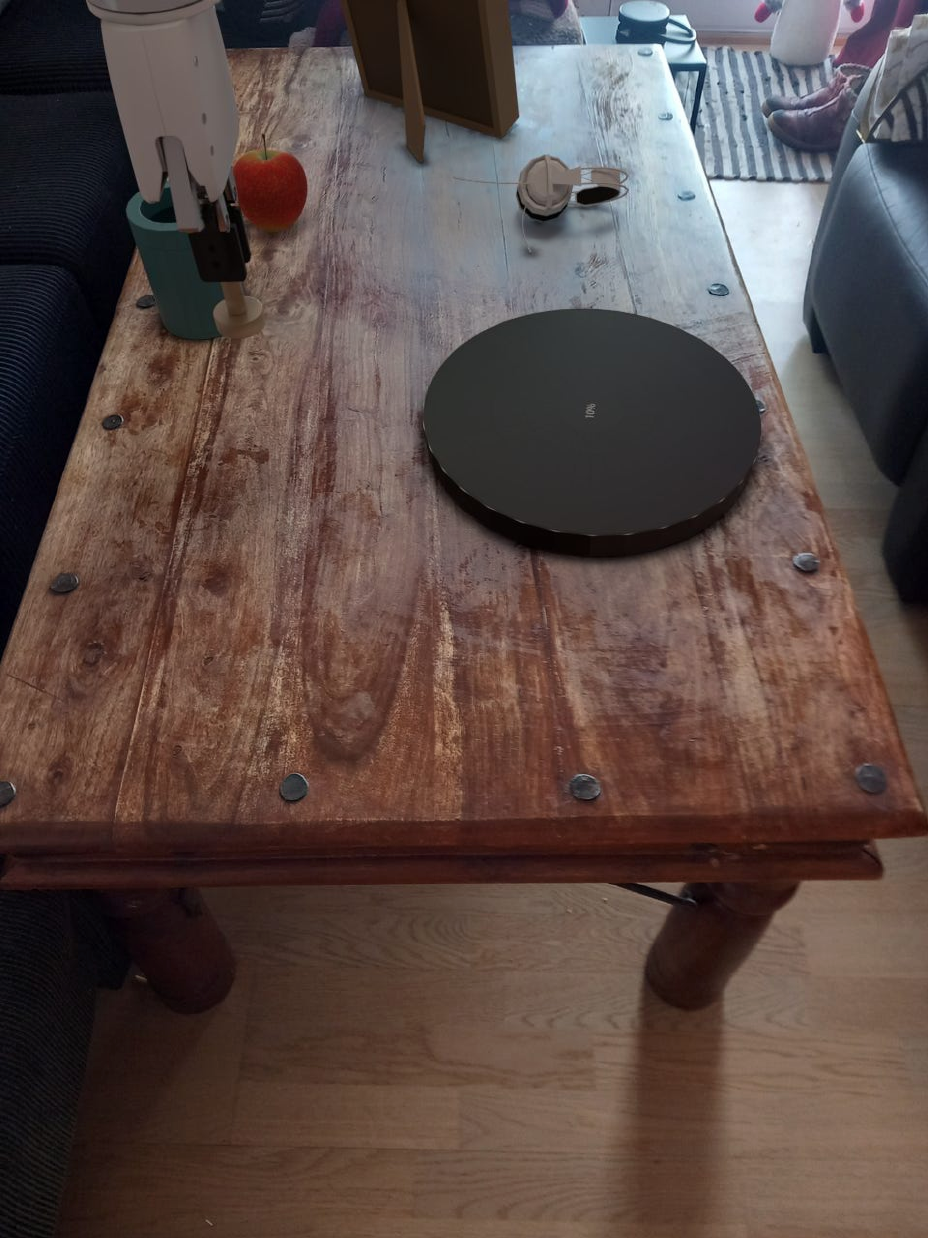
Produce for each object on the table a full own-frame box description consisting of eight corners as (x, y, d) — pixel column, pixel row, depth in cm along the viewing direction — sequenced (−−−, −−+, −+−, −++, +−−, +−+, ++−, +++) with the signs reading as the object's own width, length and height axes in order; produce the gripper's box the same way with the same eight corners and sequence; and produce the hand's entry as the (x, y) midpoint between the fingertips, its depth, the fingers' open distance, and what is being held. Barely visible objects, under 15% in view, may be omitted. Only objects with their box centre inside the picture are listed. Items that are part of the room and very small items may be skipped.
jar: (155, 341, 94) (117, 232, 84) (169, 288, 99) (135, 179, 89) (243, 338, 94) (215, 229, 84) (253, 285, 99) (228, 177, 89)
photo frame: (383, 83, 126) (364, -147, 106) (519, 124, 118) (526, -115, 98) (315, 129, 119) (281, -109, 98) (455, 176, 111) (448, -70, 91)
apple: (231, 241, 104) (210, 153, 96) (257, 203, 109) (239, 115, 100) (298, 249, 103) (282, 161, 95) (321, 210, 107) (308, 123, 99)
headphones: (445, 206, 107) (614, 199, 108) (454, 257, 101) (632, 249, 102) (445, 135, 100) (626, 128, 101) (454, 186, 94) (645, 178, 96)
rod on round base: (213, 339, 67) (176, 209, 59) (220, 309, 69) (185, 180, 61) (262, 338, 67) (231, 208, 59) (268, 308, 69) (239, 179, 61)
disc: (429, 333, 94) (427, 307, 91) (724, 329, 93) (731, 304, 91) (419, 560, 76) (417, 536, 74) (783, 557, 75) (793, 533, 73)
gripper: (112, -85, 54) (192, 210, 69) (42, 30, 45) (152, 341, 60) (238, -88, 54) (292, 208, 69) (194, 26, 45) (267, 339, 60)
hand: (226, 268), depth 64 cm, fingers closed on rod on round base, 1 cm apart
